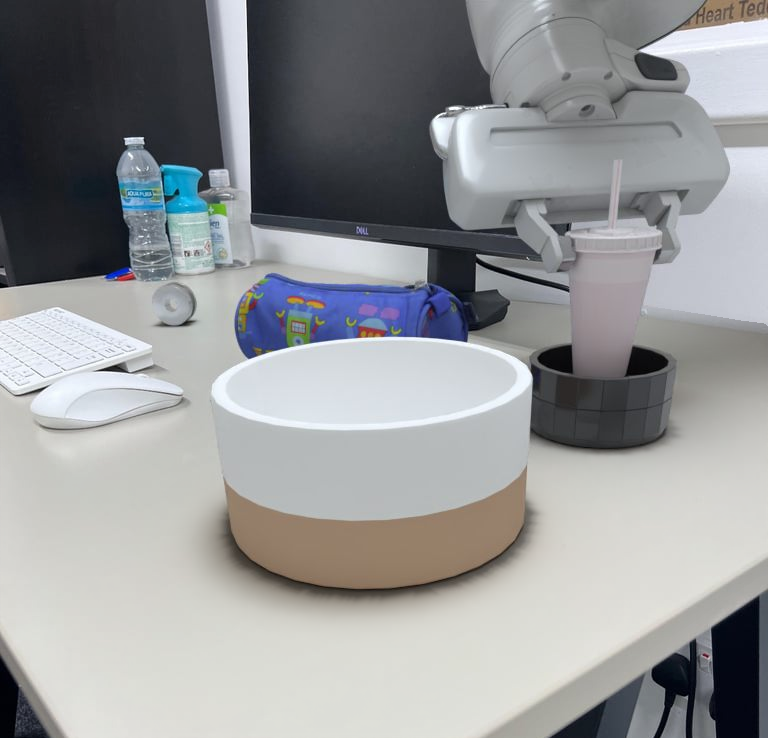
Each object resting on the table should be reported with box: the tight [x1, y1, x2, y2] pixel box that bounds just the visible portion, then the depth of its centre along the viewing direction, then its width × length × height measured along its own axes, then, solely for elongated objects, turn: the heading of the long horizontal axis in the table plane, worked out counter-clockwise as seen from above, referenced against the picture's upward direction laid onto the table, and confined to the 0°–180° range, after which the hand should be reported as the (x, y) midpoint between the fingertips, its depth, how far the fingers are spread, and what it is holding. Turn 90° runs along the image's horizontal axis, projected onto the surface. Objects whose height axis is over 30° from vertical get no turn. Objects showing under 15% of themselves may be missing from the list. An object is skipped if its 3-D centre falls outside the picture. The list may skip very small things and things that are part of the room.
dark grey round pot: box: [527, 342, 678, 449], centre depth 53 cm, size 10×10×5 cm
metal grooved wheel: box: [151, 281, 198, 327], centre depth 92 cm, size 5×3×5 cm, turn 82°
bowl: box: [209, 337, 533, 590], centre depth 41 cm, size 17×17×8 cm
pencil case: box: [233, 272, 480, 360], centre depth 65 cm, size 22×9×10 cm, turn 57°
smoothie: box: [564, 159, 662, 377], centre depth 49 cm, size 6×6×14 cm
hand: (615, 262), depth 48 cm, fingers closed on smoothie, 6 cm apart
